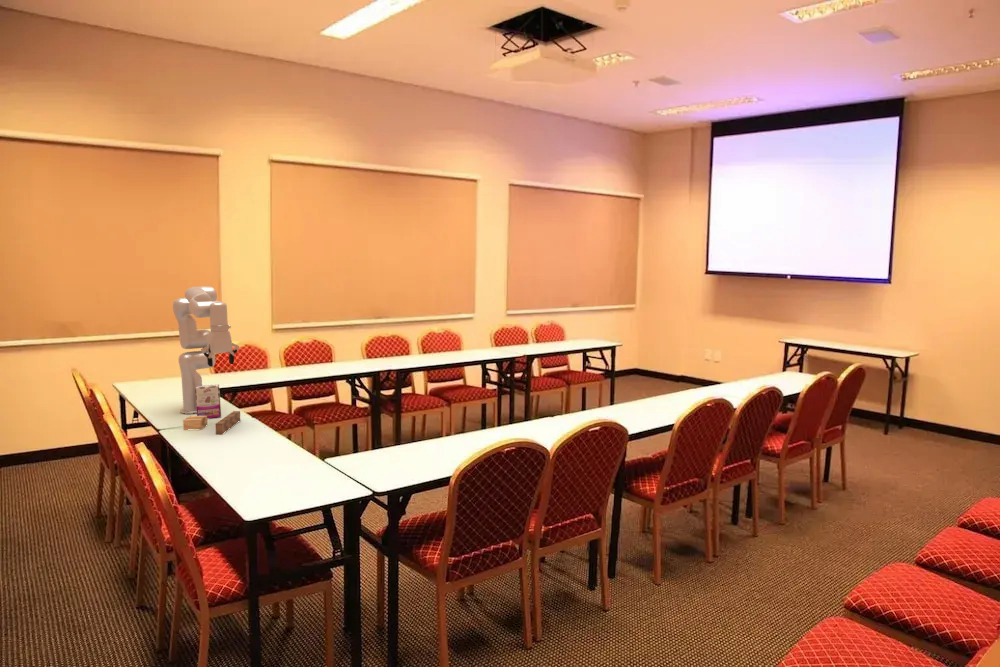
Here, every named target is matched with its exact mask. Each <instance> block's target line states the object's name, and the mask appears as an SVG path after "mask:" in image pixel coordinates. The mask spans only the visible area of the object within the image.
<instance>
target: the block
mask: <svg viewBox="0 0 1000 667" xmlns="http://www.w3.org/2000/svg"><path fill="white" fill-rule="evenodd" d="M182 422H183V424H182V426H183V431H189V430H188V429H202V428H203V429H204V428H206V427H207V426H208V419H207V416H197V415H189V416H188V417H186V418H184V419H183V420H182ZM206 425H207V426H206ZM205 426H206V427H205ZM203 429H202V430H203Z"/></svg>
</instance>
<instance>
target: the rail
mask: <svg viewBox="0 0 1000 667" xmlns="http://www.w3.org/2000/svg"><path fill="white" fill-rule="evenodd" d="M238 421H240V422H241V411H240V410H233V411H231V412H230V413H229V414H227V415H225V416H224V417H223V418H222V419H220V420H219V421H217V422H216V423H215V435H224V434H225V433H226V432H227V430H228V429H229V428H230V429H232V428H233V427H234V426H235V425H234V424H236V423H237V422H238ZM238 423H239V422H238ZM238 423H237V424H238ZM237 424H236V425H237ZM233 425H234V426H233ZM232 426H233V427H232ZM231 427H232V428H231ZM230 429H229V430H230ZM229 430H228V431H229ZM225 431H226V432H225ZM224 432H225V433H224ZM223 433H224V434H223Z"/></svg>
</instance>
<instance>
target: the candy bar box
mask: <svg viewBox="0 0 1000 667" xmlns="http://www.w3.org/2000/svg"><path fill="white" fill-rule="evenodd" d="M195 394H196V408H197V413H196V416H207V418H209V419H218V418H217V417H220V418H222V410H221V409H222V407H221V392H220V384H210V385H209V384H208V385H207V384H206V385H202V386H196V387H195Z"/></svg>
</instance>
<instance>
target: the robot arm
mask: <svg viewBox="0 0 1000 667" xmlns="http://www.w3.org/2000/svg"><path fill="white" fill-rule="evenodd" d="M217 298H218V294H217V290H216V289H215V288H214V287H213V286H209V285H207V286H206V285H204V286H192V287H191V286H190V287H188V288H187V289H185V291H184V297H180V298H175V300H174V301H173V302H172V311H173V314H174V316H175V319H176V321H177V324H178V325H177V326H178V334H179V337H178V338H179V343H180V344H179V345H180V346H181V348H182V349H184V350H192V351H186V352H183V353H181V354H180V355H179V356H178V364H179V369H180V374H181V389H182V390H181V391H182V406H183V408H181V409H180V414H183V413H185V414H184V415H190V414H191V415H193V413H195V414H197V408H196V394H195V387H196V386H203V378H202V375H200V373H199V372H197V370H202V369H210V368H213V367H214V366H215V365H216V355H217V354H224V353H225V354H227V353H228V354H229V355H228V363H229V365H230V364H231V365H234V362H235V354H236V353H237V352H238V350H239V347H240V345H238V344H235V343H233V341H232V336H231V332H230V331H229V329H232V326H231V325H229V324H228V322H229V320H228V307H227V306H228V305H227V303H226V302H223V301H221V300H217ZM192 315H193V316H194V317H195V318H201V319H202V318H209V326H210V330H209V329H198V328H197V321H196V319H195V318H194V317H193V316H192ZM233 347H234V349H233ZM195 349H200V350H195Z"/></svg>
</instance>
